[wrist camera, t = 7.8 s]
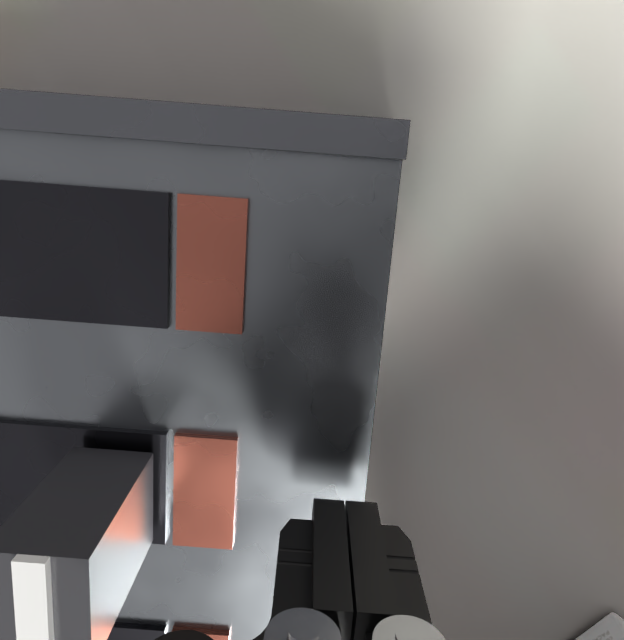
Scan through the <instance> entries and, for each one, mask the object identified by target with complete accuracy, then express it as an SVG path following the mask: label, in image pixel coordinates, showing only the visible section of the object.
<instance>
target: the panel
mask: <svg viewBox="0 0 624 640" xmlns="http://www.w3.org/2000/svg"><path fill="white" fill-rule="evenodd" d="M409 128H410V120H402V119H389V118H376V117H363V116H350V115H337V114H324V113H311V112H298V111H285V110H272V109H259V108H246V107H233V106H220V105H207V104H194V103H181V102H168V101H155V100H142V99H129V98H116V97H103V96H90V95H77V94H64V93H51V92H38V91H25V90H12V89H0V527H1V525H2V524H3V523H4V522H5V521H6V520H7V519H8V518H9V517H10V516H11V514H12V513H13V512H14V511H15V510H16V509H17V508H18V507H19V506H20V505H21V503H22V502H23V501H24V500H25V499H26V498H27V497H28V496H29V495H30V494H31V493H32V491H33V490H34V489H35V488H36V487H37V486H38V485H39V484H40V483H41V482H42V480H43V479H44V478H45V477H46V476H47V475H48V474H49V473H50V472H51V471H52V470H53V468H54V467H55V466H56V465H57V464H58V463H59V462H60V461H61V460H62V459H63V457H64V456H65V455H66V454H67V453H68V452H69V451H70V450H71V449H72V448H73V447H82V448H95V449H109V450H122V451H135V452H149V453H153V541H152V543H151V545H150V547H149V550H148V552H147V554H146V556H145V558H144V560H143V563H142V565H141V567H140V569H139V571H138V573H137V576H136V578H135V580H134V582H133V584H132V586H131V589H130V591H129V593H128V595H127V597H126V599H125V602H124V604H123V606H122V608H121V610H120V612H119V615H118V617H117V619H116V621H115V623H114V625H113V628H112V630H111V632H110V634H109V636H108V638H107V640H155V639H156V638H158V637H160V636H161V635H164V634H166V633H169V632H172V631H177V630H195V631H199V632H202V633H204V634H206V635H208V636H209V637H211V638H212V639H213V640H253V639H254V638H256V637H257V636H258V635H260V634H261V633H262V632H263V631H264V629H265V628H266V627H267V625H268V623H269V621H270V618H271V614H272V604H273V594H274V585H275V575H276V566H277V556H278V546H279V537H280V531H281V530H282V528H283V527H284V526H285V525H286V523H287V522H288V521H289V520H290V518H291V519H304V520H312V509H313V500H314V498H318V499H332V500H344V505H345V502H346V500H347V501H361V502H364V501H365V492H366V483H367V474H368V465H369V456H370V447H371V438H372V429H373V420H374V411H375V402H376V392H377V383H378V374H379V365H380V356H381V347H382V338H383V329H384V320H385V311H386V302H387V293H388V284H389V275H390V265H391V256H392V247H393V238H394V229H395V220H396V211H397V202H398V193H399V184H400V175H401V166H402V160H406V155H407V146H408V137H409Z"/></svg>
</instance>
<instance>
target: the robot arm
mask: <svg viewBox="0 0 624 640" xmlns="http://www.w3.org/2000/svg"><path fill="white" fill-rule="evenodd" d="M155 640H213V639H212V638H211V637H209V636H208V635H206V634H204V633H202V632H199V631H195V630H177V631H172V632H169V633H166V634H164V635H161V636H160V637H158V638H156V639H155ZM253 640H446V639H445V638H444V636H443V635H442V633H441V632H440V631H439V630H438V629H437V628H435V627H434V626H433V625H432V622H431V618H430V614H429V610H428V607H427V603H426V599H425V595H424V591H423V587H422V583H421V579H420V575H419V574H418V567H417V564H416V561H415V556H414V552H413V548H412V544H411V541H410V540H409V538H408V537H407V536H406V535H405V534H404V532H403V531H402V530H401V529H400V528H399V527H398V526H388V525H381V523H380V518H379V512H378V507H377V503H374V502H361V501H347V500H346V502H345V505H344V500H332V499H318V498H314V500H313V509H312V520H304V519H291V518H290V520H289V521H288V522H287V523H286V525H285V526H284V527H283V528H282V530H281V531H280V537H279V546H278V556H277V566H276V575H275V585H274V594H273V604H272V614H271V618H270V621H269V623H268V625H267V627H266V628H265V629H264V631H263V632H262V633H261V634H260V635H258V636H257V637H256V638H254V639H253Z"/></svg>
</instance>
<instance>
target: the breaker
mask: <svg viewBox="0 0 624 640" xmlns="http://www.w3.org/2000/svg"><path fill="white" fill-rule="evenodd" d="M152 541H153V453H149V452H135V451H122V450H109V449H95V448H82V447H73V448H72V449H71V450H70V451H69V452H68V453H67V454H66V455H65V456H64V457H63V459H62V460H61V461H60V462H59V463H58V464H57V465H56V466H55V467H54V468H53V470H52V471H51V472H50V473H49V474H48V475H47V476H46V477H45V478H44V479H43V480H42V482H41V483H40V484H39V485H38V486H37V487H36V488H35V489H34V490H33V491H32V493H31V494H30V495H29V496H28V497H27V498H26V499H25V500H24V501H23V502H22V503H21V505H20V506H19V507H18V508H17V509H16V510H15V511H14V512H13V513H12V514H11V516H10V517H9V518H8V519H7V520H6V521H5V522H4V523H3V524H2V525H1V527H0V640H107V638H108V636H109V634H110V632H111V630H112V628H113V625H114V623H115V621H116V619H117V617H118V615H119V612H120V610H121V608H122V606H123V604H124V602H125V599H126V597H127V595H128V593H129V591H130V589H131V586H132V584H133V582H134V580H135V578H136V576H137V573H138V571H139V569H140V567H141V565H142V563H143V560H144V558H145V556H146V554H147V552H148V550H149V547H150V545H151V543H152Z"/></svg>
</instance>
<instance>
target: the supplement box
mask: <svg viewBox="0 0 624 640" xmlns="http://www.w3.org/2000/svg"><path fill="white" fill-rule="evenodd" d="M575 640H624V619H623V618H621V617H620V616H619V615H618V614H616V613H614V612H611V613H610V614H608V615H607V616H606V617H604V618H603V619H602V620H600V621H599V622H598V623H596V624H595V625H594V626H592V627H591V628H590V629H588V630H587V631H586V632H584V633H583V634H582V635H580V636H579V637H578V638H576V639H575Z"/></svg>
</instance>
